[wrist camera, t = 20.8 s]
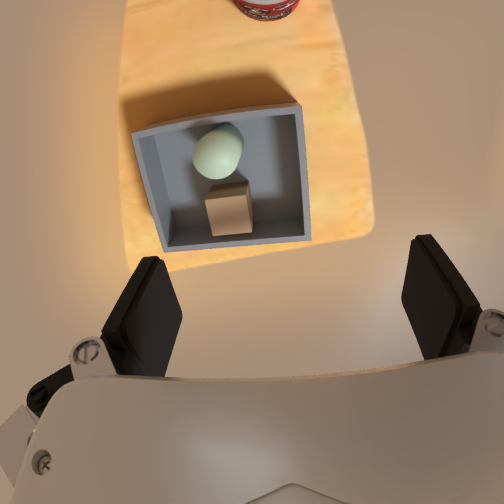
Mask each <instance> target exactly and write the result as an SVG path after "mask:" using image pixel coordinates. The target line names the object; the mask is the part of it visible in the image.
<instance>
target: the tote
mask: <svg viewBox="0 0 504 504" xmlns="http://www.w3.org/2000/svg"><path fill="white" fill-rule="evenodd" d="M223 124H226V125H231V126H233V127H235V128H237V129H238V130H239V131H240V132H241V134H242V136H243V138H244V149H243V151H242V154H241V157H240V159H239V162H238V165H237V167H236V169H235V170H234V171H233V172H232V173H231V174H230V175H229V176H227V177H225V178H222V179H211V178H207V177H205V176H203V175H202V174H200V173H199V172H198V171H197V169H196V168H195V166H194V164H193V160H192V153H193V149H194V147H195V145H196V143H197V142H198V141H199V140H200V139H201V138H202V137H203V136H205V135H206V134H207V133H208V132H209V131H210V130H211V129H212V128H214V127H216V126H218V125H223ZM131 137H132V141H133V145H134V149H135V153H136V157H137V161H138V165H139V169H140V173H141V177H142V180H143V184H144V188H145V191H146V195H147V198H148V202H149V205H150V209H151V212H152V216H153V219H154V222H155V226H156V229H157V232H158V236H159V239H160V242H161V245H162V248H163V251H164V253H166V252H177V251H189V250H201V249H212V248H224V247H236V246H248V245H261V244H273V243H285V242H298V241H310V240H311V221H310V202H309V186H308V171H307V158H306V146H305V135H304V124H303V114H302V106H301V105H300V104H299V103H298V102H290V103H278V104H268V105H259V106H250V107H242V108H235V109H228V110H221V111H215V112H209V113H203V114H197V115H192V116H187V117H182V118H177V119H172V120H167V121H163V122H158V123H154V124H150V125H147V126H145V127H143V128H141V129H139V130H137V131H135V132H133V133H131ZM243 181H249V185H250V191H251V197H252V204H253V210H254V220H253V228H252V232H250V233H239V234H229V235H219V236H213V235H212V230H211V226H210V222H209V217H208V213H207V209H206V204H205V198H206V196H207V194H208V192H209V190H210V188H211V186H212V185H219V184H227V183H235V182H243Z"/></svg>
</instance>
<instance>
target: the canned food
mask: <svg viewBox="0 0 504 504" xmlns="http://www.w3.org/2000/svg"><path fill="white" fill-rule="evenodd" d="M234 1H235V3H236V5H237V6H238V8H239V9H240V11H242V12H243V13H244V14H245V15H246V16H248V17H250V18H252V19H254V20H259V21H275V20H279V19H282V18H284V17H286V16H287V15H289V14H290V13H291V12H292V11H293V10H294V9H295V8H296V7H297V5H298V3H299V1H300V0H234Z"/></svg>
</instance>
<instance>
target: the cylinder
mask: <svg viewBox="0 0 504 504" xmlns="http://www.w3.org/2000/svg"><path fill="white" fill-rule="evenodd" d="M243 149H244V138H243V136H242V134H241V132H240V131H239V130H238V129H237V128H235V127H233V126H231V125H226V124H223V125H218V126H216V127H214V128H212V129H211V130H210V131H209V132H208V133H207V134H206V135H205V136H203V137H202V138H201V139H200V140H199V141H198V142H197V143H196V145H195V147H194V149H193V153H192V160H193V164H194V166H195V168H196V169H197V171H198V172H199V173H200V174H202V175H203V176H205V177H207V178H211V179H222V178H225V177H227V176H229V175H230V174H231V173H232V172H233V171H234V170H235V169H236V167H237V165H238V162H239V159H240V157H241V154H242V151H243Z"/></svg>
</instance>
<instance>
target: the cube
mask: <svg viewBox="0 0 504 504" xmlns="http://www.w3.org/2000/svg"><path fill="white" fill-rule="evenodd" d="M205 204H206V209H207V213H208V217H209V222H210V226H211V230H212V235H213V236H219V235H229V234H239V233H250V232H252V228H253V220H254V210H253V204H252V197H251V191H250V185H249V181H243V182H235V183H227V184H219V185H212V186H211V188H210V190H209V192H208V194H207V196H206V198H205Z"/></svg>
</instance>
